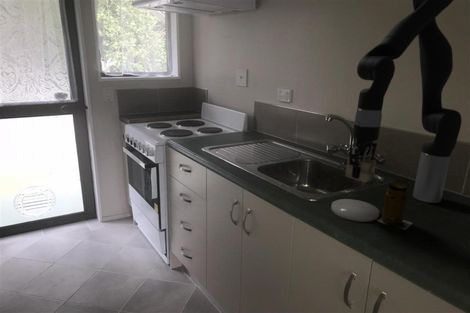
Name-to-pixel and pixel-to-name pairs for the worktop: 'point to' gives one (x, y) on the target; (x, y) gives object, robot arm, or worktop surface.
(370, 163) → the block
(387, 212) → the condiment
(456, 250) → the worktop surface
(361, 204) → the dish
